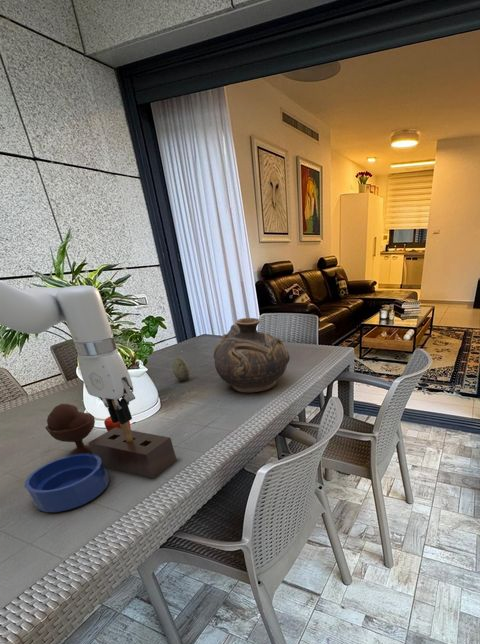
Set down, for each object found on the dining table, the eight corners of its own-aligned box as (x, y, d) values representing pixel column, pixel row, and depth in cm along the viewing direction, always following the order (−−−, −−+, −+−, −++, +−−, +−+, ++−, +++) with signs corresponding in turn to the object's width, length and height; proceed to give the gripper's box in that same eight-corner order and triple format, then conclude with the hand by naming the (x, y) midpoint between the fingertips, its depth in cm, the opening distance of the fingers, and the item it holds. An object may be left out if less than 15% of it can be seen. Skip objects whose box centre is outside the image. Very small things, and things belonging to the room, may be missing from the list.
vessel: (240, 369, 152) (234, 309, 140) (300, 378, 144) (299, 316, 132) (202, 393, 130) (191, 324, 117) (270, 405, 122) (266, 333, 110)
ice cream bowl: (114, 445, 100) (95, 397, 92) (76, 467, 91) (52, 415, 84) (89, 438, 104) (70, 392, 96) (50, 458, 95) (26, 408, 88)
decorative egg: (172, 382, 142) (166, 358, 137) (182, 377, 147) (176, 353, 142) (185, 383, 140) (179, 359, 135) (194, 378, 145) (189, 354, 140)
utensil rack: (97, 465, 91) (88, 442, 88) (123, 449, 98) (115, 427, 94) (153, 478, 85) (145, 454, 82) (176, 460, 92) (170, 437, 89)
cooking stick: (132, 464, 91) (110, 401, 82) (137, 460, 92) (115, 398, 84) (137, 465, 91) (115, 401, 82) (142, 461, 92) (120, 399, 83)
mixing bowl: (21, 506, 78) (8, 484, 75) (80, 469, 90) (71, 449, 87) (67, 520, 73) (56, 498, 71) (123, 479, 85) (115, 459, 82)
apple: (123, 432, 107) (116, 409, 103) (139, 435, 104) (131, 412, 101) (106, 442, 101) (97, 419, 98) (122, 446, 99) (113, 422, 96)
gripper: (55, 349, 76) (85, 423, 85) (109, 354, 71) (135, 433, 80) (86, 340, 82) (111, 410, 91) (137, 344, 77) (159, 418, 86)
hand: (122, 420), depth 85 cm, fingers closed on cooking stick, 1 cm apart
